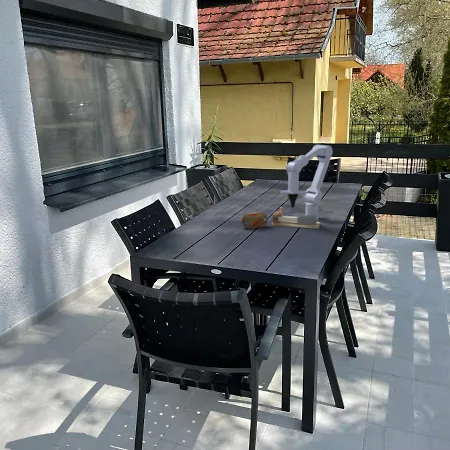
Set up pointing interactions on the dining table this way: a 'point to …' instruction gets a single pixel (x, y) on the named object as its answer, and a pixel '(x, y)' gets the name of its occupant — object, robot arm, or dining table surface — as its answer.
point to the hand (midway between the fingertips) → (292, 207)
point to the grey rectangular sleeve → (306, 219)
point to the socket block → (276, 217)
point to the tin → (254, 220)
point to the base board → (295, 225)
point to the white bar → (286, 217)
